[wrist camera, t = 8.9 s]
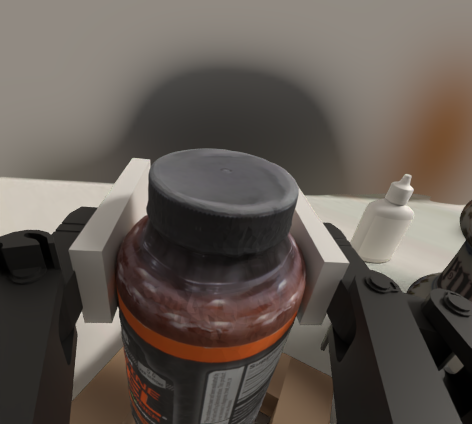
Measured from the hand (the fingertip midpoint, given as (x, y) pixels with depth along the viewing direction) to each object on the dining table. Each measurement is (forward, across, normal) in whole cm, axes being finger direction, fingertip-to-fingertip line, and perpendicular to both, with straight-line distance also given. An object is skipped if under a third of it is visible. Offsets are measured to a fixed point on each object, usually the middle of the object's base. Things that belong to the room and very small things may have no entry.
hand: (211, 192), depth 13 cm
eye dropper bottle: (+15, +23, -15) cm, 32 cm away
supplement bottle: (-5, 0, -8) cm, 10 cm away
